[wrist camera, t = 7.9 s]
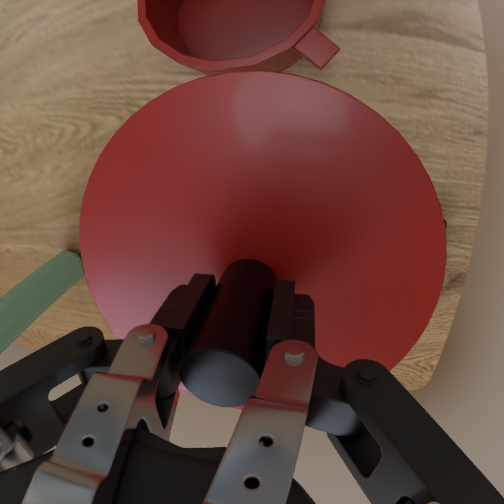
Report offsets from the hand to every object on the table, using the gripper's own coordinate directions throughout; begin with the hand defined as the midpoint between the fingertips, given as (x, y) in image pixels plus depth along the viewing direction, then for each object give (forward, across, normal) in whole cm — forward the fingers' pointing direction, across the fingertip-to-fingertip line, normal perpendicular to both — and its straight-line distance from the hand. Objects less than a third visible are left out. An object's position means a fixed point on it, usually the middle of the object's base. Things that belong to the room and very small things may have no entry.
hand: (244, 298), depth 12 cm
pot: (+23, +4, -18) cm, 30 cm away
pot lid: (+2, 0, 0) cm, 2 cm away
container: (+23, +29, +12) cm, 39 cm away
